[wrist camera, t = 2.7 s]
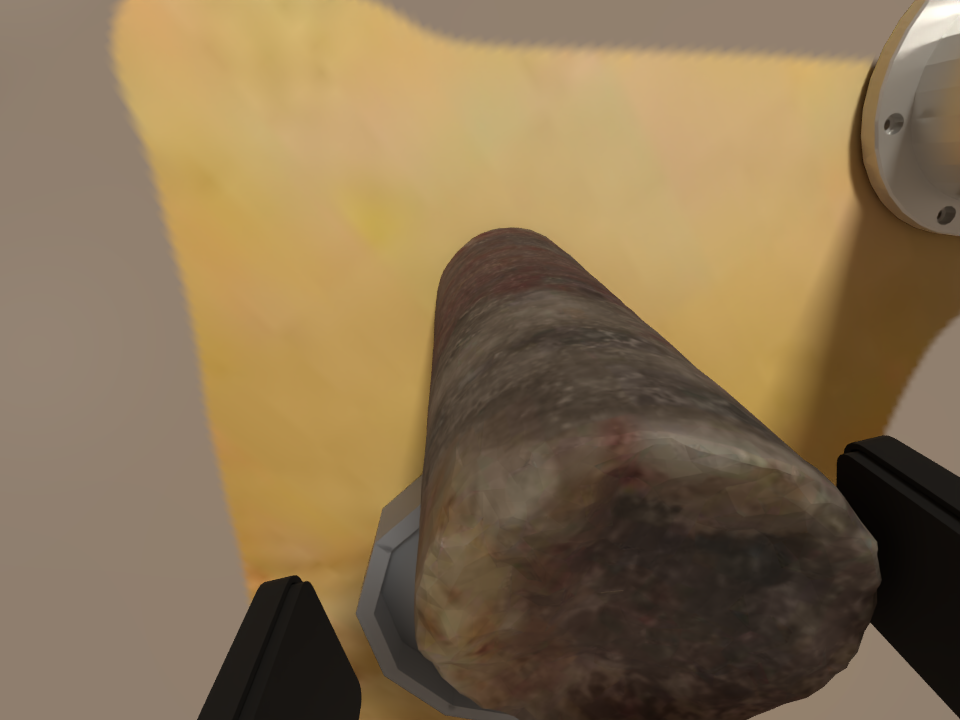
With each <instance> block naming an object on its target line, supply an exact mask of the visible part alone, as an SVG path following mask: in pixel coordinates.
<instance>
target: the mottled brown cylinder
mask: <svg viewBox="0 0 960 720" xmlns="http://www.w3.org/2000/svg"><path fill="white" fill-rule="evenodd" d="M420 508H421V510H420V521H419V540H418V551H417V562H416V573H415V592H414V624H415V639H416V643H417V646H418V650H419V651H420V652H421V653H422V655H423V657H425V658H426V659H428V660H429V661H431V662H432V663H433V664H434V666H435V667H436V669H437V670H438V672H439V674H440V675H441V677H442V678H443V679H444V680H446V681H447V682H448V683H449V684H450V685H452V686H453V687H454V688H455V689H456V690H457V691H458V692H459V693H460V694H462V695H464V696H466V697H468V698H470V699H471V700H472V701H473V702H475V703H476V704H477V705H478V706H480V707H481V708H483V709H490V710H497V711H501V712H503V713H506V714H509V715H511V716H514V717H516V718H517V719H519V720H747V719H749V718H751V717H753V716H756V715H758V714H761V713H764V712H766V711H769V710H771V709H774V708H776V707H778V706H780V705H783V704H786V703H789V702H793V701H797V700H800V699H804V698H807V697H809V696H810V695H812V694H813V693H815V692H816V691H818V690H819V689H821V688H822V687H824V686H825V685H826V684H827V683H828V682H829V681H830V680H831V679H832V678H833V677H834V676H835V674H837V673H839V672H841V671H842V670H844V669H845V668H847V666H848V664H849V662H850V661H851V659H852V658H853V657H854V656H855V654H856V653H857V652H858V649H859V646H860V643H861V640H862V637H863V634H864V631H865V630H866V628H867V626H868V625H869V623H870V621H871V618H872V615H873V613H874V610H875V607H876V604H877V588H878V587H879V585H880V584H881V581H882V579H881V573H880V568H879V562H878V557H877V551H878V545H877V541H876V540H875V539H874V537H873V536H872V535H871V534H870V532H869V531H868V530H867V528H866V527H865V526H864V525H863V523H862V522H861V521H860V519H859V518H858V516H857V515H856V513H855V512H854V510H853V509H852V508H851V506H850V505H849V503H848V502H847V500H846V499H845V497H844V496H843V495H842V493H841V492H840V491H839V490H838V488H837V487H836V486H835V485H834V484H833V483H832V482H831V481H830V480H829V479H827V478H826V477H825V476H824V475H823V474H822V473H821V472H820V471H819V470H818V469H817V468H816V467H814V466H813V465H811V464H810V463H808V462H807V461H805V460H804V459H802V458H801V457H800V456H799V455H798V454H797V453H796V452H794V451H793V450H792V449H791V448H790V447H789V446H788V445H787V444H785V443H784V442H783V441H782V440H781V439H780V438H779V437H778V436H776V435H775V434H774V433H773V432H772V431H771V430H770V429H768V428H767V427H766V426H765V425H764V424H763V423H762V422H761V421H759V420H758V419H757V418H756V417H755V416H754V415H753V414H752V413H750V412H749V411H748V410H747V409H746V408H745V407H743V406H742V405H741V404H740V403H739V402H738V401H737V400H735V399H734V398H733V397H732V396H731V395H730V394H729V393H727V392H726V391H725V390H724V389H723V388H721V387H720V386H719V385H718V384H716V383H715V382H714V381H713V380H712V379H710V378H709V377H708V376H706V375H705V374H703V373H702V372H701V371H700V370H698V369H697V368H696V367H695V366H694V365H693V364H692V363H691V362H690V361H688V360H687V359H686V358H685V357H684V356H683V355H682V354H681V353H680V352H679V351H678V350H677V349H676V348H675V347H673V346H672V345H671V344H670V343H669V342H668V341H667V340H665V339H664V338H663V337H662V336H661V335H660V334H659V333H658V332H656V331H655V330H654V329H653V328H651V327H650V326H649V325H648V324H646V323H645V322H644V321H643V320H641V319H640V318H639V317H638V316H637V315H636V314H635V313H634V312H633V311H632V310H631V309H629V308H628V307H627V306H625V305H624V304H623V303H622V301H621V300H620V299H618V298H617V297H616V296H615V295H614V294H612V293H611V292H610V291H609V290H608V289H607V288H606V287H605V286H604V285H603V284H602V283H600V282H599V281H598V280H597V279H596V278H594V277H593V276H592V275H591V274H590V273H588V272H587V271H586V270H585V269H584V268H583V267H582V266H581V265H580V264H579V263H578V262H577V261H576V260H575V259H574V258H573V257H571V256H570V255H569V254H567V253H566V252H565V251H563V250H562V249H561V248H560V247H558V246H557V245H556V244H555V243H553V242H552V241H551V240H549V239H548V238H547V237H546V236H543V235H541V234H539V233H536V232H534V231H531V230H528V229H522V228H499V229H494V230H490V231H487V232H484V233H481V234H480V235H478V236H476V237H474V238H472V239H471V240H470V241H469V242H468V243H467V244H466V245H465V246H463V247H462V248H461V249H460V250H459V251H458V252H457V253H456V254H455V256H454V257H453V258H452V259H451V261H450V262H449V263H448V265H447V266H446V268H445V270H444V271H443V274H442V276H441V279H440V283H439V287H438V291H437V301H436V311H435V328H434V349H433V361H432V374H431V385H430V396H429V405H428V418H427V437H426V448H425V458H424V466H423V475H422V484H421V506H420Z"/></svg>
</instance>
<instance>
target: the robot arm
mask: <svg viewBox="0 0 960 720" xmlns="http://www.w3.org/2000/svg"><path fill="white" fill-rule="evenodd" d="M861 143H862V152H863V161H864V165H865V168H866V171H867V174H868V177H869V180H870V183H871V186H872V187H873V189H874V190H875V192H876V194H877V195H878V197H879V199H880V200H881V202H882V203H883V204H884V205H885V206H886V207H887V208H888V209H889V210H890V211H891V212H892V213H893V214H894V215H895V216H896V217H897V218H899V219H901V220H902V221H904V222H906V223H908V224H910V225H911V226H913V227H915V228H918V229H922V230H925V231H929V232H933V233H937V234H946V235H955V236H960V0H915V1H914V2H913V4H912V5H911V6H910V7H909V9H908V10H907V11H906V13H905V14H904V15H903V16H902V18H901V19H900V20H899V22H898V24H897V26H896V27H895V29H894V31H893V32H892V34H891V36H890V37H889V39H888V41H887V43H886V44H885V46H884V48H883V50H882V52H881V55H880V57H879V59H878V62H877V64H876V66H875V69H874V71H873V74H872V76H871V79H870V82H869V86H868V90H867V95H866V99H865V103H864V107H863V115H862V128H861ZM837 488H838V490H839V491H840V492H841V493H842V495H843V496H844V497H845V499H846V500H847V502H848V503H849V505H850V506H851V508H852V509H853V510H854V512H855V513H856V515H857V516H858V518H859V519H860V521H861V522H862V523H863V525H864V526H865V527H866V528H867V530H868V531H869V532H870V534H871V535H872V536H873V537H874V539H875V540H876V541H877V545H878V551H877V557H878V562H879V568H880V573H881V579H882V581H881V584H880V585H879V587H878V588H877V604H876V607H875V610H874V613H873V615H872V618H871V621H870V623H871V624H872V625H873V626H874V627H875V628H876V629H877V630H878V631H879V632H880V633H881V634H882V635H883V637H885V639H886V640H887V641H888V642H889V643H890V644H891V645H892V646H893V647H894V648H895V649H896V651H898V653H899V654H900V655H901V656H902V657H903V658H904V659H905V660H906V661H907V662H908V663H909V665H910V666H911V667H912V668H913V669H914V670H915V671H916V672H917V673H918V674H919V675H920V676H921V677H922V678H923V680H924V681H925V682H926V683H927V684H928V685H929V686H930V687H931V688H932V689H933V690H934V691H935V692H936V693H937V695H938V696H939V697H940V698H941V699H942V700H943V701H944V702H945V703H946V704H947V705H948V706H949V708H950V709H951V710H952V711H953V712H954V713H955V714H956V715H957V716H958V717H959V718H960V477H958V476H957V475H955V474H953V473H952V472H950V471H948V470H947V469H945V468H943V467H942V466H940V465H938V464H937V463H935V462H933V461H932V460H930V459H928V458H927V457H925V456H923V455H922V454H920V453H918V452H916V451H915V450H913V449H912V448H910V447H908V446H906V445H905V444H903V443H902V442H900V441H898V440H897V439H895V438H893V437H890V436H879V437H874V438H870V439H866V440H862V441H858V442H853V443H850V444H848V445H847V446H846V447H845V449H844V454H842V455H840V456H839V457H838V460H837ZM360 709H361V688H360V684H359V681H358V679H357V677H356V675H355V673H354V671H353V669H352V666H351V664H350V662H349V660H348V658H347V656H346V654H345V652H344V650H343V648H342V646H341V644H340V642H339V640H338V638H337V635H336V633H335V631H334V629H333V627H332V625H331V623H330V621H329V619H328V617H327V615H326V613H325V611H324V609H323V606H322V604H321V602H320V600H319V598H318V596H317V594H316V592H315V590H314V588H313V586H312V584H311V583H310V582H308V581H305V582H302V580H301V579H300V577H298V576H297V575H293V576H289V577H285V578H280V579H276V580H272V581H268V582H264V583H263V584H261V585H260V587H259V588H258V590H257V592H256V594H255V596H254V598H253V601H252V603H251V605H250V607H249V609H248V611H247V613H246V616H245V618H244V620H243V622H242V624H241V626H240V629H239V631H238V633H237V635H236V637H235V639H234V641H233V644H232V646H231V648H230V650H229V652H228V654H227V656H226V659H225V661H224V663H223V665H222V667H221V669H220V672H219V674H218V676H217V678H216V680H215V682H214V685H213V687H212V689H211V691H210V693H209V695H208V697H207V699H206V702H205V704H204V706H203V708H202V710H201V713H200V715H199V717H198V719H197V720H359V715H360Z"/></svg>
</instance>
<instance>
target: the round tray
mask: <svg viewBox="0 0 960 720" xmlns="http://www.w3.org/2000/svg"><path fill="white" fill-rule="evenodd" d="M422 475H423V474H422ZM422 475H421V476H420V477H419V478H417V479H416V480H415V481H414V482H413V483H412V484H410V485H409V486H408V487H407V488H406V489H405V490H404V491H402V492H401V493H400V494H399V495H398V496H397V497H396V498H394V499H393V500H392V501H391V502H390V503H389V504H388V505H386V506H385V507H384V508H383V509H382V513H381V517H380V521H379V525H378V528H377V532H376V536H375V540H374V543H373V547H372V551H371V555H370V559H369V562H368V566H367V570H366V574H365V577H364V581H363V586H362V590H361V594H360V598H359V603H358V607H357V611H356V615H357V617H358V620H359V622H360V624H361V626H362V628H363V631H364V633H365V635H366V637H367V639H368V642H369V644H370V646H371V648H372V650H373V653H374V655H375V657H376V659H377V661H378V663H379V666H380V668H381V670H382V672H383V674H384V676H385V677H387V678H388V679H390V680H392V681H393V682H395V683H396V684H398V685H399V686H401V687H402V688H404V689H405V690H407V691H409V692H410V693H412V694H413V695H415V696H416V697H418V698H419V699H421V700H422V701H424V702H425V703H427V704H429V705H430V706H432V707H433V708H435V709H436V710H438V711H439V712H441V713H442V714H444V715H447V716H453V717H460V718H466V719H472V720H519V719H517V718H516V717H514V716H511V715H509V714H506V713H503V712H501V711H497V710H490V709H483V708H481V707H480V706H478V705H477V704H476V703H475V702H473V701H472V700H471V699H470V698H468V697H466V696H464V695H462V694H460V693H459V692H458V691H457V690H456V689H455V688H454V687H453V686H452V685H450V684H449V683H448V682H447V681H446V680H444V679H443V678H442V677H441V675H440V674H439V672H438V670H437V669H436V667H435V666H434V664H433V663H432V662H431V661H429V660H428V659H426V658H425V657H423V655H422V653H421V652H420V651H419V650H418V646H417V643H416V639H415V624H414V592H415V573H416V562H417V551H418V540H419V521H420V510H421V508H420V506H421V484H422Z"/></svg>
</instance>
